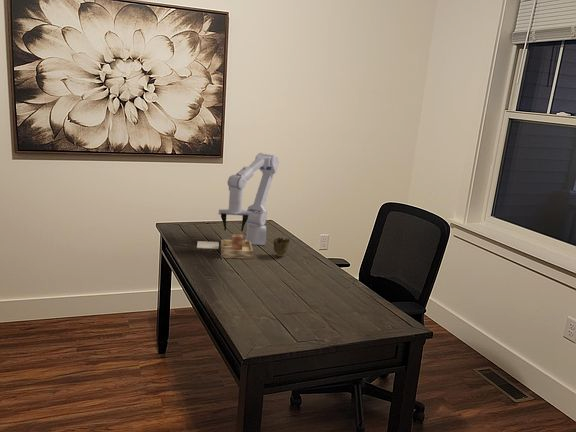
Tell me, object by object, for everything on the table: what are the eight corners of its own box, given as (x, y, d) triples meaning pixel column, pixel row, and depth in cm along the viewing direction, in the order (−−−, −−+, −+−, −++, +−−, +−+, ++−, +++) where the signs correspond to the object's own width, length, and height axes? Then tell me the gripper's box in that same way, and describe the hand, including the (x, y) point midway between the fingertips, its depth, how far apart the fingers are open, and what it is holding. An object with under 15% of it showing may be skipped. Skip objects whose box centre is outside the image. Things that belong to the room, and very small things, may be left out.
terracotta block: (241, 247, 240) (242, 234, 239) (242, 250, 236) (242, 237, 234) (231, 246, 239) (232, 234, 238) (232, 249, 235) (232, 237, 234)
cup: (269, 256, 240) (270, 240, 238) (275, 252, 246) (277, 236, 244) (284, 259, 237) (286, 243, 235) (290, 255, 244) (292, 239, 242)
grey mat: (218, 242, 254) (218, 242, 254) (218, 249, 244) (218, 248, 244) (197, 241, 252) (197, 241, 252) (196, 248, 243) (196, 247, 243)
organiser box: (250, 247, 250) (250, 240, 249) (252, 258, 235) (253, 251, 234) (220, 246, 248) (221, 239, 247) (220, 257, 233) (221, 249, 232)
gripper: (218, 202, 235) (217, 231, 238) (251, 204, 236) (249, 233, 239) (219, 199, 242) (218, 227, 245) (251, 201, 243) (249, 229, 246)
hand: (233, 230), depth 243 cm, fingers open, 7 cm apart
